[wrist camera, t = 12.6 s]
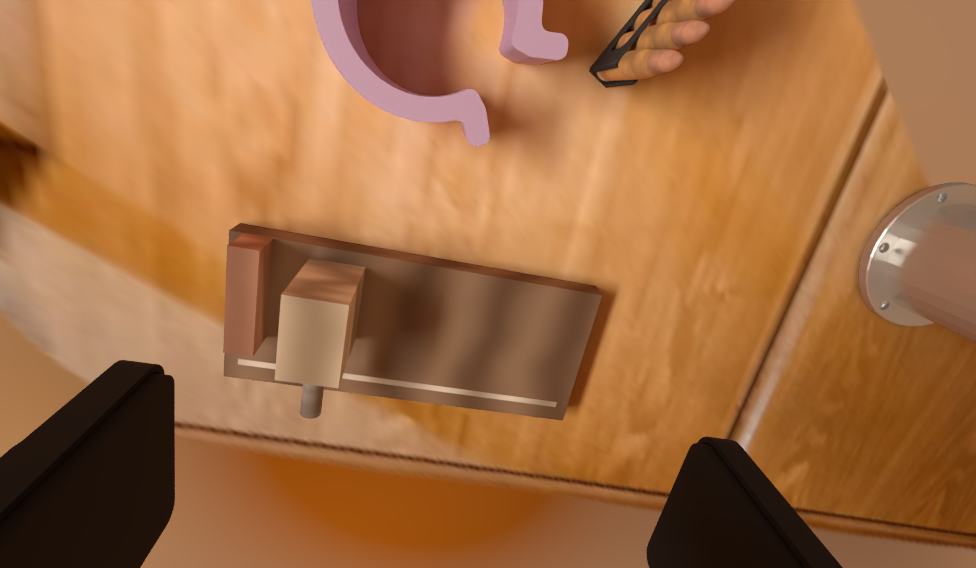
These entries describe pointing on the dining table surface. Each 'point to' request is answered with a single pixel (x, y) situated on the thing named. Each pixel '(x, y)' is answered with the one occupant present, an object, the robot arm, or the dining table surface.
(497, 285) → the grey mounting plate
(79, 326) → the dining table surface
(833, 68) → the dining table surface
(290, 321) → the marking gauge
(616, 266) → the dining table surface
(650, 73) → the ammunition clip
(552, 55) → the clip
